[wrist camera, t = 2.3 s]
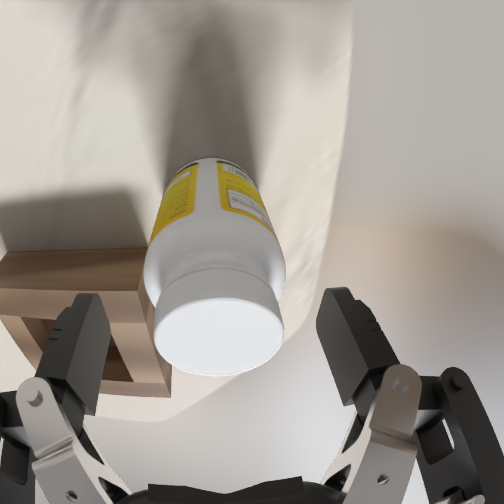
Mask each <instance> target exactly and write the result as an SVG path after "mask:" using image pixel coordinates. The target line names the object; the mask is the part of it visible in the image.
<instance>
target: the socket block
mask: <svg viewBox="0 0 504 504" xmlns="http://www.w3.org/2000/svg"><path fill="white" fill-rule="evenodd" d="M147 249H148V248H125V249H93V250H63V251H36V252H10V253H6V255H5V256H4V257H3V259H2V260H1V261H0V319H1V321H2V323H3V324H4V326H5V327H6V329H7V330H8V332H9V333H10V335H11V336H12V338H13V339H14V341H15V342H16V344H17V345H18V347H19V348H20V350H21V351H22V352H23V354H24V355H25V356H26V358H27V359H28V360H29V362H30V363H31V364H32V366H33V367H34V368H35V370H36V371H37V368H38V365H39V362H40V359H41V357H42V354H43V351H44V348H45V346H46V343H47V341H48V340H49V336H50V333H51V331H53V329H52V328H53V326H54V323H55V321H56V319H57V317H58V315H59V314H60V313H61V312H62V311H63V310H64V309H65V308H66V307H71V306H72V304H73V301H74V299H75V297H76V295H77V294H78V293H98V294H99V296H100V298H101V301H102V304H103V306H104V309H105V312H106V315H107V317H108V320H109V323H110V328H111V338H110V343H109V347H108V351H107V355H106V360H105V364H104V369H103V374H102V379H101V384H100V389H99V393H101V394H111V395H123V396H139V397H165V398H171V375H172V365H171V364H170V363H169V362H167V361H166V360H165V359H164V358H163V357H162V356H161V355H160V353H159V352H158V350H157V348H156V346H155V343H154V335H153V332H154V321H155V306H154V305H153V304H152V302H151V300H150V298H149V296H148V294H147V291H146V288H145V283H144V263H145V257H146V253H147Z"/></svg>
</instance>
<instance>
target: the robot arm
mask: <svg viewBox="0 0 504 504" xmlns="http://www.w3.org/2000/svg"><path fill="white" fill-rule="evenodd" d="M52 329H53V331H51V333H50V336H49V340H48V341H47V343H46V346H45V348H44V351H43V354H42V357H41V359H40V362H39V365H38V368H37V371H36V374H35V376H34V377H32V378H29V379H27V380H25V381H24V382H23V383H22V384H21V385H20V386H19V388H18V390H17V391H10V392H2V393H0V440H1V437H2V438H3V439H4V441H3V448H2V456H1V465H0V504H35V477H36V478H37V480H38V482H39V484H40V486H41V488H42V490H43V492H44V494H45V496H46V498H47V500H48V502H49V503H50V504H401V503H402V500H403V497H404V495H405V492H406V489H407V485H408V483H409V479H410V476H411V473H412V469H413V466H414V462H415V459H417V462H418V465H419V468H420V472H421V475H422V478H423V481H424V485H425V488H426V492H427V496H428V500H429V504H504V455H503V453H502V450H501V448H500V445H499V442H498V440H497V437H496V435H495V432H494V430H493V427H492V425H491V423H490V420H489V418H488V416H487V414H486V411H485V409H484V407H483V405H482V403H481V401H480V399H479V396H478V394H477V392H476V390H475V388H474V386H473V384H472V382H471V381H470V378H469V377H468V375H467V374H466V373H465V372H464V371H462V370H461V369H459V368H456V367H450V368H447V369H446V370H445V371H444V372H443V373H442V374H441V375H440V376H439V377H437V376H419V375H418V373H417V372H416V371H415V370H413V369H412V368H411V367H409V366H407V365H403V364H400V362H399V360H398V359H397V357H396V355H395V353H394V351H393V349H392V347H391V345H390V344H389V342H388V340H387V338H386V336H385V335H384V333H383V331H381V327H380V325H379V324H378V322H376V318H375V316H374V315H373V313H372V311H371V310H370V308H369V307H367V306H366V305H365V304H364V303H363V302H362V301H361V300H355V299H354V298H353V296H352V294H351V292H350V290H349V289H348V288H347V287H338V288H327V289H326V290H325V291H324V295H323V298H322V302H321V305H320V308H319V311H318V315H317V319H316V329H317V333H318V337H319V339H320V342H321V344H322V347H323V350H324V353H325V355H326V358H327V361H328V363H329V366H330V369H331V372H332V375H333V377H334V380H335V383H336V386H337V388H338V391H339V394H340V397H341V400H342V403H343V405H344V406H347V405H352V404H355V407H356V412H355V413H354V416H353V419H352V421H351V423H350V426H349V428H348V431H347V433H346V436H345V438H344V441H343V443H342V445H341V448H340V450H339V452H338V454H337V456H336V458H335V459H334V461H333V462H332V463H331V465H330V466H329V468H328V470H327V471H326V473H325V475H324V477H323V479H322V481H321V483H320V484H318V483H314V482H304V481H302V477H301V476H299V477H293V478H288V479H281V480H275V481H267V482H263V483H260V484H257V485H254V486H252V487H248V488H245V489H242V490H239V491H236V492H232V493H228V494H222V493H216V492H211V491H206V490H201V489H196V488H192V487H187V486H173V485H171V486H170V485H156V484H148V490H143V491H139V492H135V493H133V494H132V493H131V491H130V490H129V489H128V487H127V486H126V485H125V484H124V482H123V481H122V480H121V479H120V477H119V476H118V475H117V474H116V473H115V472H114V471H113V470H112V469H111V468H110V466H109V465H108V463H107V462H106V460H105V459H104V457H103V456H102V454H101V452H100V451H99V449H98V448H97V446H96V444H95V443H94V441H93V439H92V437H91V436H90V434H89V432H88V430H87V428H86V427H85V425H84V423H83V419H84V414H86V415H92V416H95V412H96V406H97V400H98V394H99V389H100V384H101V379H102V374H103V369H104V364H105V360H106V355H107V351H108V347H109V343H110V338H111V328H110V323H109V320H108V317H107V315H106V312H105V309H104V306H103V304H102V301H101V298H100V296H99V294H98V293H78V294H77V295H76V297H75V299H74V301H73V304H72V306H71V307H66V308H65V309H64V310H63V311H62V312H61V313H60V314H59V315H58V317H57V319H56V321H55V323H54V326H53V328H52ZM444 418H445V420H446V423H447V425H448V428H449V430H450V433H451V435H452V438H453V441H454V449H453V448H452V446H451V443H450V440H449V438H448V435H447V432H446V429H445V427H444V424H443V422H442V420H443V419H444Z"/></svg>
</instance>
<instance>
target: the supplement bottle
mask: <svg viewBox="0 0 504 504" xmlns="http://www.w3.org/2000/svg"><path fill="white" fill-rule="evenodd" d="M285 280H286V267H285V260H284V256H283V253H282V249H281V247H280V244H279V242H278V239H277V237H276V234H275V232H274V229H273V226H272V224H271V221H270V219H269V216H268V214H267V211H266V209H265V206H264V204H263V201H262V199H261V196H260V194H259V191H258V189H257V186H256V184H255V183H254V181H253V179H252V178H251V177H250V175H249V174H248V173H247V172H246V171H245V170H244V169H243V168H241V167H240V166H238V165H237V164H235V163H233V162H231V161H228V160H224V159H219V158H205V159H199V160H196V161H193V162H191V163H189V164H187V165H185V166H183V167H182V168H181V169H179V170H178V171H177V172H176V173H175V174H174V175H173V177H172V178H171V179H170V181H169V183H168V184H167V187H166V189H165V191H164V194H163V197H162V201H161V205H160V208H159V211H158V215H157V218H156V221H155V225H154V228H153V232H152V235H151V239H150V242H149V246H148V249H147V253H146V257H145V263H144V283H145V288H146V291H147V294H148V296H149V298H150V300H151V302H152V304H153V305H154V306H155V321H154V332H153V335H154V343H155V346H156V348H157V350H158V352H159V353H160V355H161V356H162V357H163V358H164V359H165V360H166V361H167V362H169V363H170V364H171V365H173V366H175V367H177V368H179V369H181V370H183V371H186V372H189V373H193V374H198V375H204V376H227V375H234V374H239V373H242V372H246V371H249V370H251V369H254V368H256V367H258V366H260V365H262V364H263V363H265V362H266V361H268V360H269V359H270V358H271V357H272V356H273V355H274V354H275V353H276V352H277V351H278V349H279V348H280V346H281V344H282V342H283V338H284V325H283V321H282V317H281V313H280V309H279V305H278V300H279V298H280V296H281V294H282V292H283V289H284V285H285Z"/></svg>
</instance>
